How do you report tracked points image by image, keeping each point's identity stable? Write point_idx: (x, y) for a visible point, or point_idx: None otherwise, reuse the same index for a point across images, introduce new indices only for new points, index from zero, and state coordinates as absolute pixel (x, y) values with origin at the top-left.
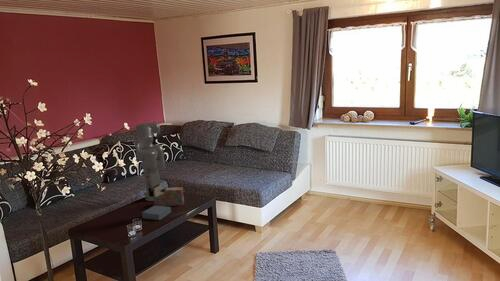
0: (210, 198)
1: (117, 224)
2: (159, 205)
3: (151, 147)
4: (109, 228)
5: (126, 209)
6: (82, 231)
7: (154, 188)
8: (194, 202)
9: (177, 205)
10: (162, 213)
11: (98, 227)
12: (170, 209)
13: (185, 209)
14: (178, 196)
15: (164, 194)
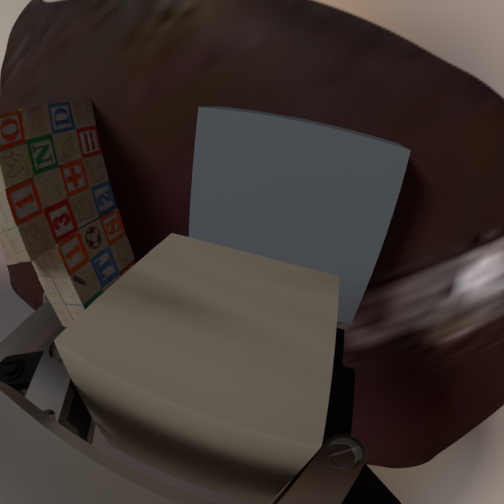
0: (20, 18)
1: (418, 385)
2: (129, 256)
3: None
4: (456, 393)
5: None
6: (442, 446)
7: (271, 450)
8: (54, 55)
9: (97, 133)
10: (348, 131)
11: (425, 428)
12: (214, 107)
13: (153, 27)
14: (42, 131)
15: (58, 251)
